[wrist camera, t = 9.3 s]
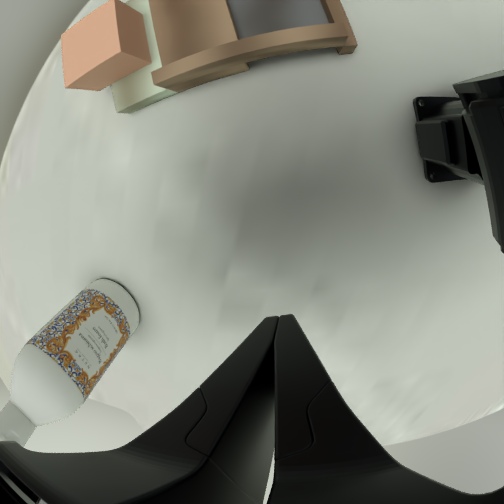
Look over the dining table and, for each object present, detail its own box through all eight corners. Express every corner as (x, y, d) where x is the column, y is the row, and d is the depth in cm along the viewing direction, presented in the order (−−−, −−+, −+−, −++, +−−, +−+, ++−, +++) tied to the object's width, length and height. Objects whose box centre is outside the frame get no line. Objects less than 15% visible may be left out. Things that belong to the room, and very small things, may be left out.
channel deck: (311, -41, 11) (312, -67, 7) (351, 53, 14) (364, 35, 11) (114, 22, 15) (87, 11, 11) (130, 113, 18) (100, 112, 15)
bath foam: (153, 325, 27) (53, 484, 9) (112, 333, 29) (21, 459, 11) (118, 269, 25) (-24, 416, 6) (81, 285, 27) (-35, 402, 8)
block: (142, 14, 13) (114, -3, 9) (151, 63, 15) (120, 51, 11) (92, 43, 14) (61, 35, 11) (99, 91, 16) (65, 88, 12)
